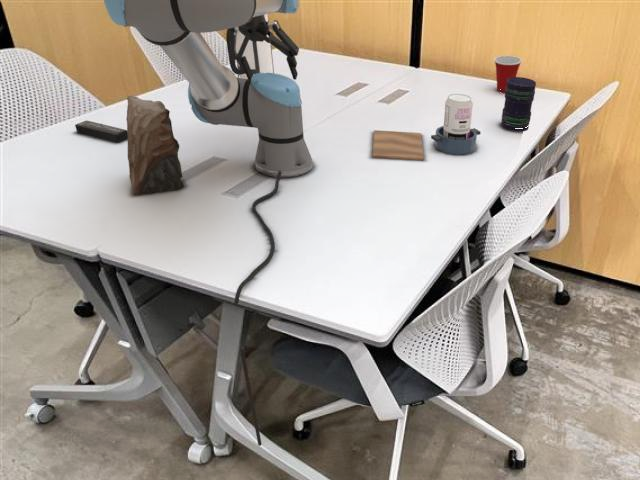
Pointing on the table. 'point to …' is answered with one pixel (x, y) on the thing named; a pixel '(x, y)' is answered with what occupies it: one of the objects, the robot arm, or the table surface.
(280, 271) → the table surface
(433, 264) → the table surface
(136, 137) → the brown rock
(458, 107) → the supplement can
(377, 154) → the wooden board
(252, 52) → the coffee press
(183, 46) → the robot arm
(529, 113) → the storage jar
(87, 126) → the multiport hub
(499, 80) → the plastic cup
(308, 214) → the table surface
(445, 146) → the pot
